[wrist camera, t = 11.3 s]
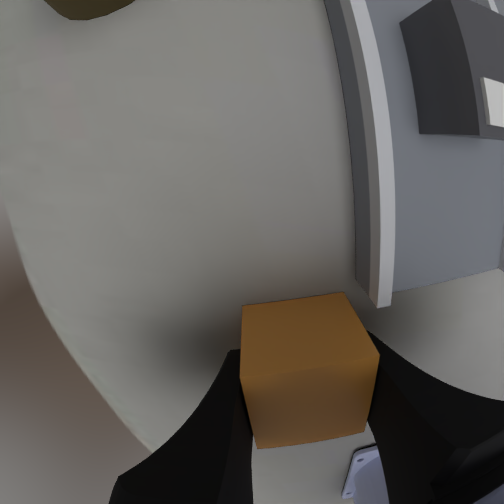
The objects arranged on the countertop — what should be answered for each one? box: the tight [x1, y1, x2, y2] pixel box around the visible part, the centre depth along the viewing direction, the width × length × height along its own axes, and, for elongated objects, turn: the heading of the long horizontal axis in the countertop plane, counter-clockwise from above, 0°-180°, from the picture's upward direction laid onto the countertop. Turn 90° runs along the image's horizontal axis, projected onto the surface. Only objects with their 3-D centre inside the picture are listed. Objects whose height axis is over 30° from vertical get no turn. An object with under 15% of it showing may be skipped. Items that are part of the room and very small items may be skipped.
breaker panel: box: [324, 0, 504, 308], centre depth 7 cm, size 13×14×2 cm
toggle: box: [399, 0, 504, 141], centre depth 5 cm, size 4×3×3 cm
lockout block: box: [240, 292, 380, 449], centre depth 10 cm, size 4×4×4 cm
